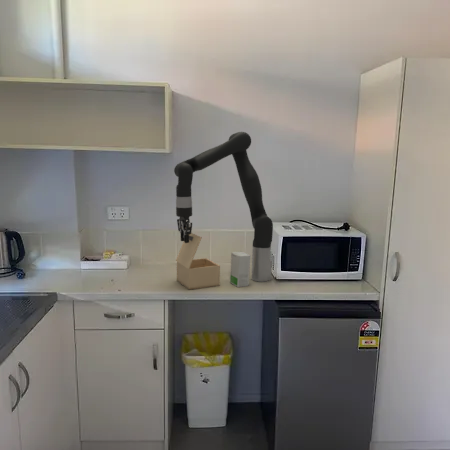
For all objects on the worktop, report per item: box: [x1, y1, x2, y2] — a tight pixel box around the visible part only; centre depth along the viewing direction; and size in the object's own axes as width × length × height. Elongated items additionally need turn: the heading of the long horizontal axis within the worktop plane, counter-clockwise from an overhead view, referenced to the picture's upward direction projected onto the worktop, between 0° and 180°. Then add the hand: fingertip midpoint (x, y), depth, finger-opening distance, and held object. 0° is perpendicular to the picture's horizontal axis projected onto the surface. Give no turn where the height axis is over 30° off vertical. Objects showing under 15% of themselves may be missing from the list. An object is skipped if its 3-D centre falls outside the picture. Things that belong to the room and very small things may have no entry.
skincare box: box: [229, 250, 251, 288], centre depth 200 cm, size 8×7×16 cm
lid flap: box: [175, 232, 202, 269], centre depth 195 cm, size 16×16×5 cm
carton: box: [176, 257, 221, 291], centre depth 201 cm, size 16×16×10 cm
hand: (184, 241), depth 195 cm, fingers closed on lid flap, 4 cm apart
